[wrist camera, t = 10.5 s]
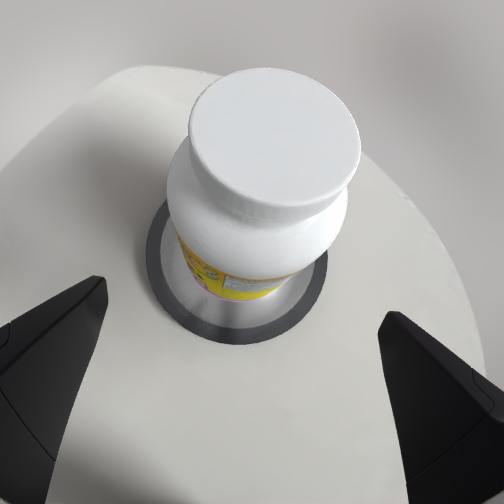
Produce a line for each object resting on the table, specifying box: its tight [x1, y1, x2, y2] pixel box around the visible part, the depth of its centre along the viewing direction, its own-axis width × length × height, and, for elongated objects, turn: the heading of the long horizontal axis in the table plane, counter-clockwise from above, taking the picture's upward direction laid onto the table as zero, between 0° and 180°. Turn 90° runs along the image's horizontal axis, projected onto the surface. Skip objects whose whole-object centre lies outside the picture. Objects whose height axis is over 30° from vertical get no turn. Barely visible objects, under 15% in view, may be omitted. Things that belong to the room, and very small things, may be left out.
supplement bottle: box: [167, 68, 361, 302], centre depth 14 cm, size 7×7×13 cm
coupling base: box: [146, 199, 328, 345], centre depth 21 cm, size 12×12×1 cm
